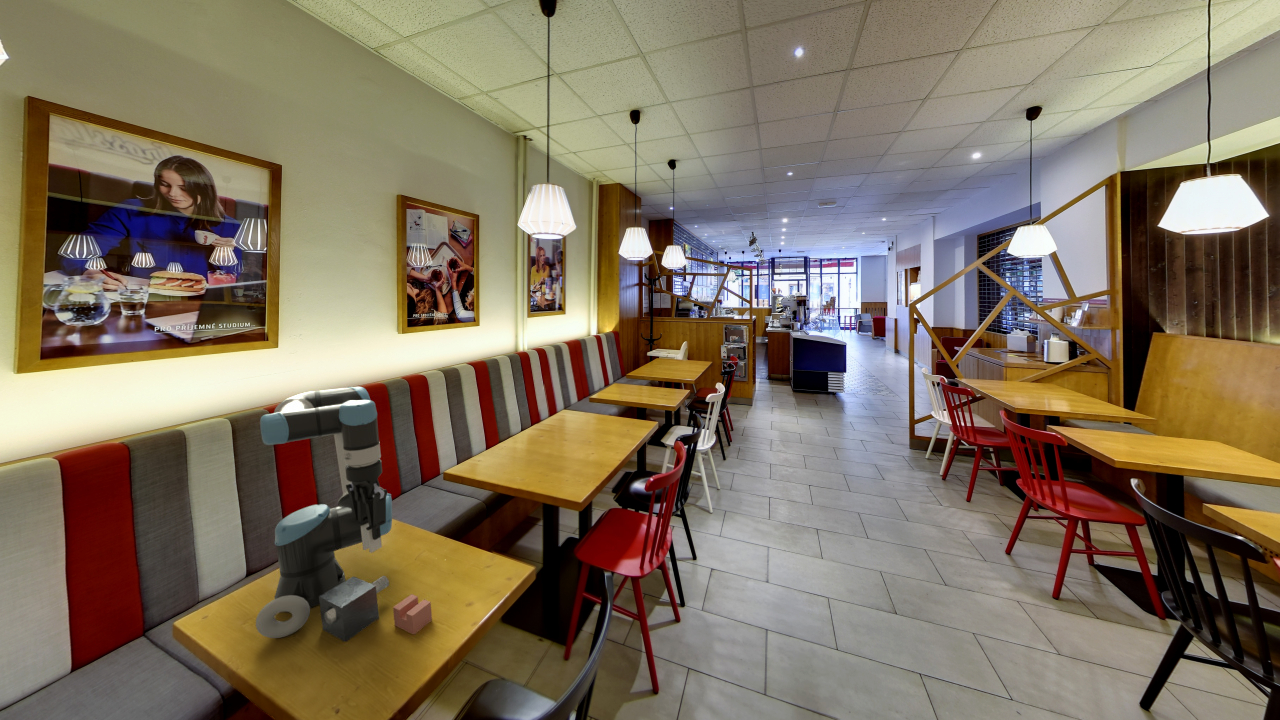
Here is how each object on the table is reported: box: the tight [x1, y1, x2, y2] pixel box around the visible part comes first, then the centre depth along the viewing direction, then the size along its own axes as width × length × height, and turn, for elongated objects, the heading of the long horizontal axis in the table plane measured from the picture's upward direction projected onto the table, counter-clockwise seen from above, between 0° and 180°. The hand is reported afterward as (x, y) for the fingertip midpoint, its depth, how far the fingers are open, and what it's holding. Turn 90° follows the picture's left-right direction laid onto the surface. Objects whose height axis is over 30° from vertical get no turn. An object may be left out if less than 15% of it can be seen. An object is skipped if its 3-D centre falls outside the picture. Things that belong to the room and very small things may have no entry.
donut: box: [255, 595, 311, 639], centre depth 96 cm, size 10×4×10 cm, turn 117°
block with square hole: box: [319, 576, 380, 643], centre depth 99 cm, size 9×8×9 cm
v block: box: [392, 593, 433, 635], centre depth 100 cm, size 7×5×5 cm
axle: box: [324, 575, 390, 624], centre depth 101 cm, size 3×14×3 cm, turn 158°
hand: (372, 548), depth 104 cm, fingers open, 2 cm apart
